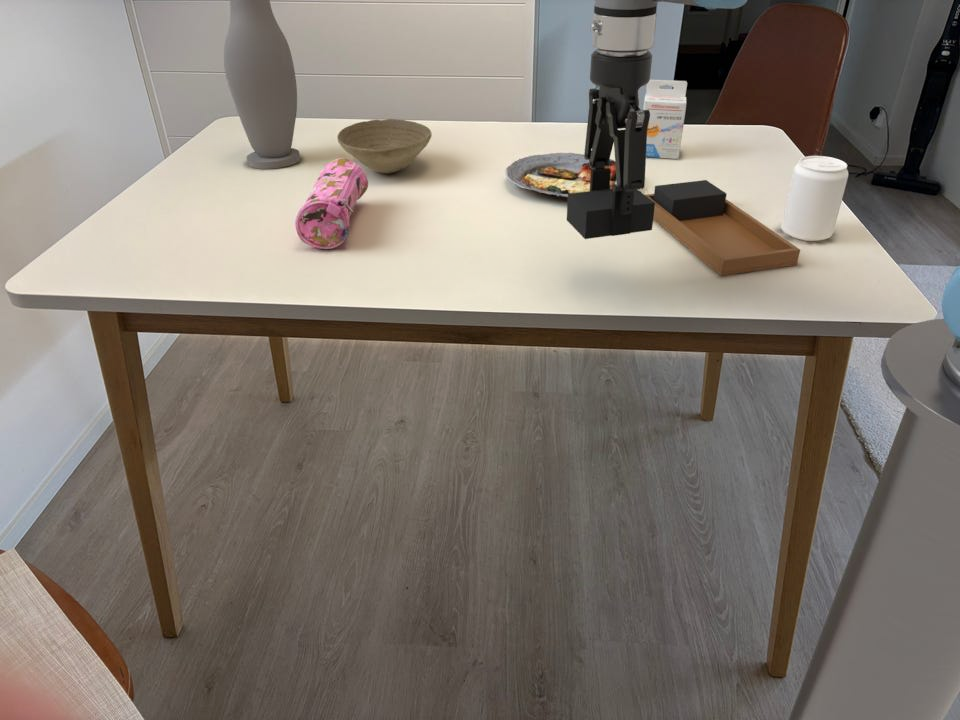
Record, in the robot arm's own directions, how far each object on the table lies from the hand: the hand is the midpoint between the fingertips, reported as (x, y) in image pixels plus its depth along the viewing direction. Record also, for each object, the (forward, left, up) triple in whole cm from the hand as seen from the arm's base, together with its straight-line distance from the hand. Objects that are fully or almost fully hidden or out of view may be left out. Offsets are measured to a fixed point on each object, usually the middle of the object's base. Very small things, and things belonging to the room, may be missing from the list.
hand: (608, 223), depth 106 cm
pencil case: (+33, +36, -10) cm, 50 cm away
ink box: (+51, -34, -10) cm, 62 cm away
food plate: (+40, -10, -10) cm, 43 cm away
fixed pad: (+20, -24, -9) cm, 33 cm away
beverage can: (+7, -39, -10) cm, 41 cm away
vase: (+71, +45, -10) cm, 85 cm away
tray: (+11, -24, -10) cm, 29 cm away
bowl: (+58, +23, -10) cm, 63 cm away
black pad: (0, 0, 0) cm, 0 cm away
